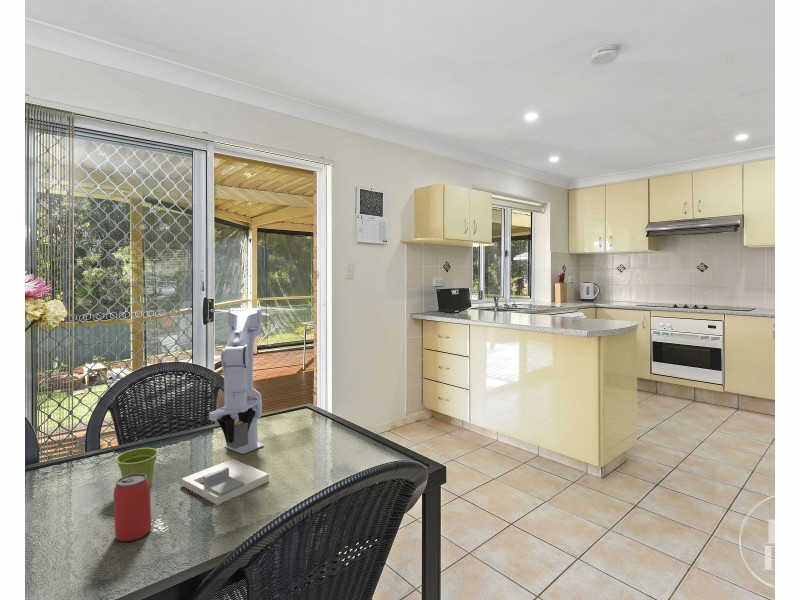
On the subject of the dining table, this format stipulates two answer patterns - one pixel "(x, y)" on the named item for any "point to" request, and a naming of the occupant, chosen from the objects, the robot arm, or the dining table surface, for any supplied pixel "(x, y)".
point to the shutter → (221, 482)
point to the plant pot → (138, 462)
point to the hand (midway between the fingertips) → (236, 439)
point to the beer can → (132, 507)
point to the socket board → (236, 471)
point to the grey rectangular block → (239, 434)
